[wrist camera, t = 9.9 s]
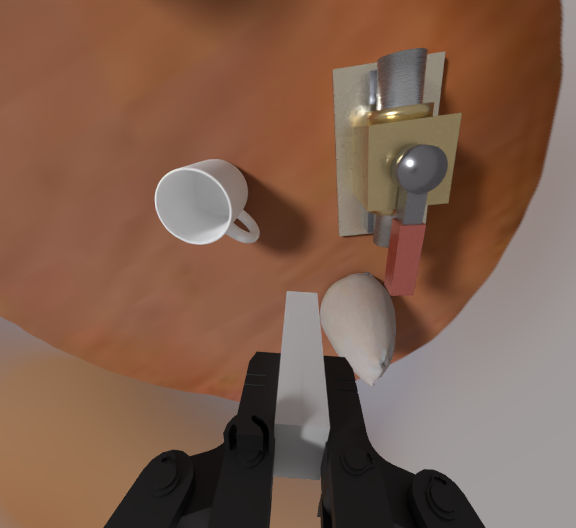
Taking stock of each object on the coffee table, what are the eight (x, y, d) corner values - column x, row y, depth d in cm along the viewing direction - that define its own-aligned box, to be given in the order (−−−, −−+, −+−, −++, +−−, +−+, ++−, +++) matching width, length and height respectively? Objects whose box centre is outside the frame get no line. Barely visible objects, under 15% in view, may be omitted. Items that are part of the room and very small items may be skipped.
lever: (392, 145, 24) (402, 146, 22) (437, 142, 24) (452, 143, 22) (377, 284, 31) (383, 297, 29) (412, 283, 31) (421, 296, 28)
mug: (281, 206, 38) (274, 230, 28) (245, 244, 41) (229, 277, 31) (213, 144, 34) (180, 148, 25) (180, 191, 37) (140, 210, 28)
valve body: (331, 71, 30) (344, 46, 21) (441, 53, 29) (502, 19, 20) (338, 234, 39) (349, 264, 30) (422, 225, 38) (459, 254, 29)
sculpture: (392, 326, 46) (428, 405, 33) (326, 337, 48) (336, 416, 35) (384, 264, 41) (424, 328, 28) (310, 279, 43) (314, 346, 30)
